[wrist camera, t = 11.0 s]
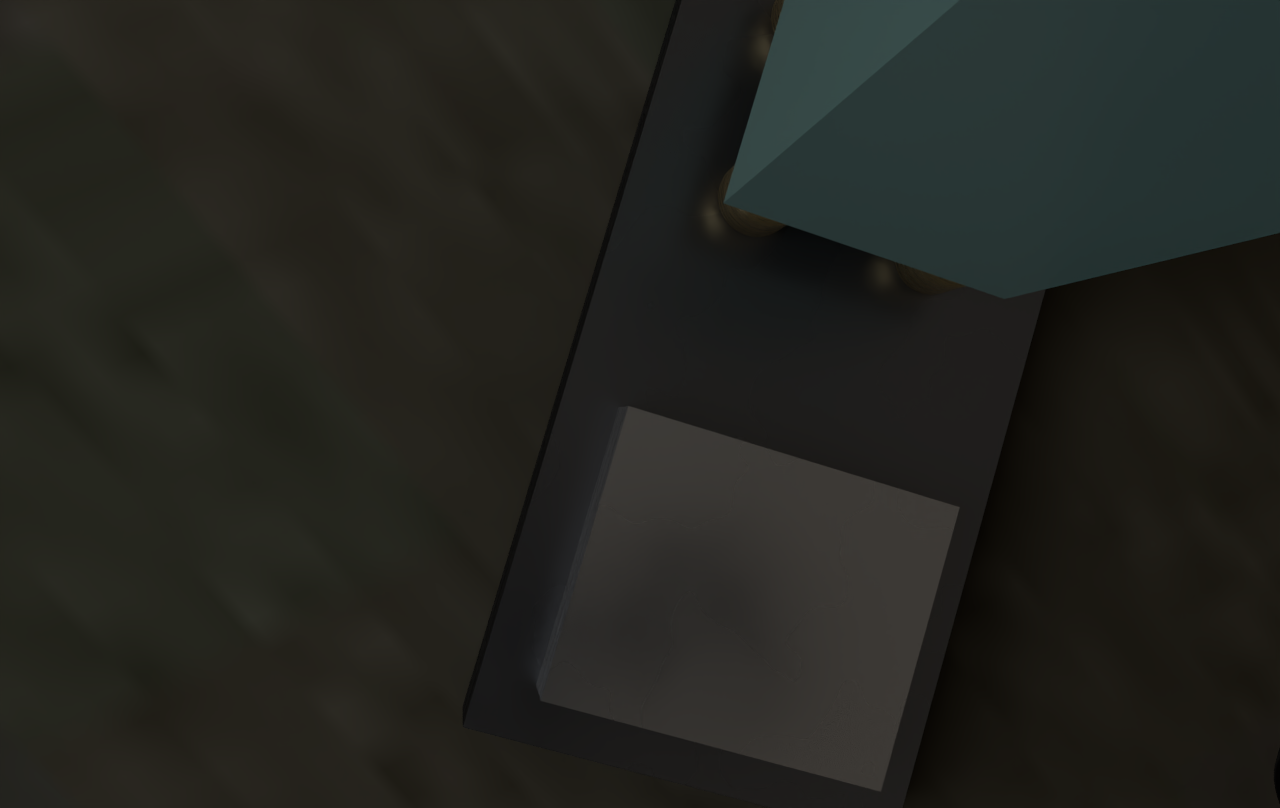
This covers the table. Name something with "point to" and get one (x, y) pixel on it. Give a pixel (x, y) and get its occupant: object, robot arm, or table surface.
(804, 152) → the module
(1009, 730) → the table surface
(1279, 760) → the robot arm
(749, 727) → the chassis
